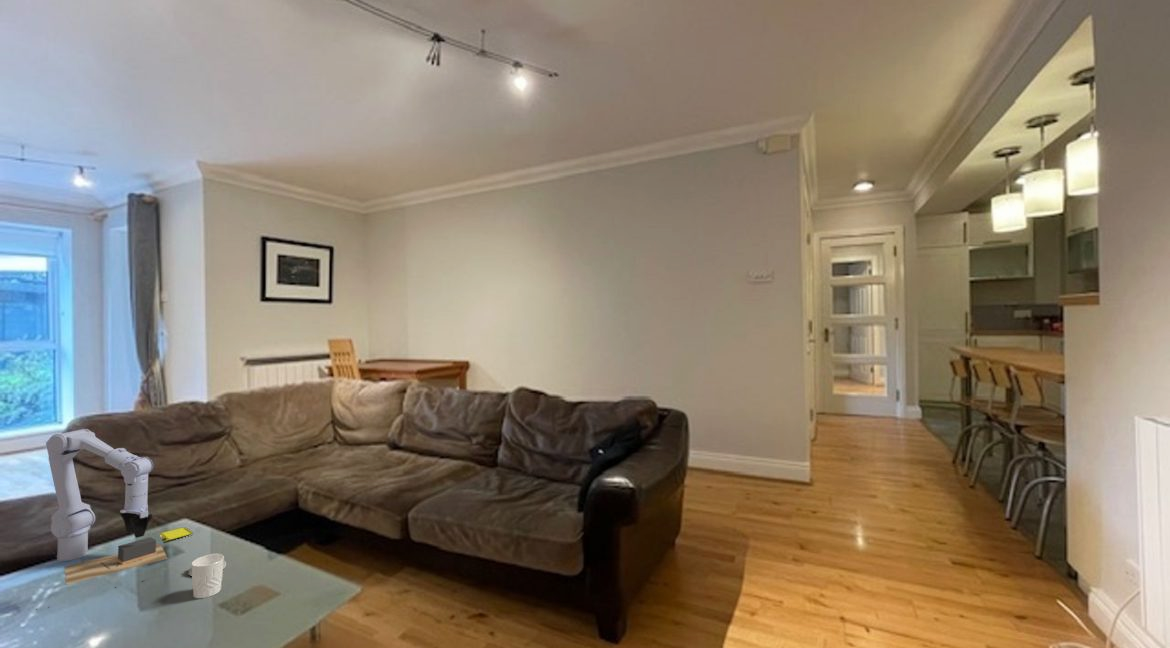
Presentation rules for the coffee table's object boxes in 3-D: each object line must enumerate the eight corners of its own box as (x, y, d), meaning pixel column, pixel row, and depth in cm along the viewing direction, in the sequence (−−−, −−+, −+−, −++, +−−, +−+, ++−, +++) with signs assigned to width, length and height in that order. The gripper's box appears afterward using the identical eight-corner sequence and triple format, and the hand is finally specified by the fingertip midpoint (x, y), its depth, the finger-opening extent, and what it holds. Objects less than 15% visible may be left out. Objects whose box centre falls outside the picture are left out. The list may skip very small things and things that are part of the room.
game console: (184, 529, 197) (184, 525, 197) (194, 536, 190) (194, 532, 190) (124, 545, 182) (124, 541, 182) (133, 553, 175) (133, 549, 175)
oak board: (64, 570, 161) (64, 566, 161) (160, 547, 179) (160, 543, 179) (66, 588, 151) (66, 584, 151) (167, 561, 168) (167, 558, 168)
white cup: (229, 588, 152) (230, 556, 153) (202, 602, 145) (203, 568, 145) (211, 584, 155) (212, 552, 155) (184, 596, 148) (185, 563, 148)
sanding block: (116, 560, 166) (117, 546, 166) (150, 550, 174) (151, 536, 174) (122, 564, 163) (122, 549, 163) (156, 554, 171) (156, 540, 171)
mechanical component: (180, 576, 160) (205, 580, 158) (180, 562, 160) (205, 566, 158) (209, 562, 169) (233, 565, 167) (209, 549, 169) (233, 552, 167)
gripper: (113, 493, 169) (112, 532, 169) (129, 502, 162) (128, 543, 162) (139, 488, 175) (138, 526, 175) (156, 496, 168) (155, 535, 168)
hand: (135, 533), depth 169 cm, fingers open, 7 cm apart
